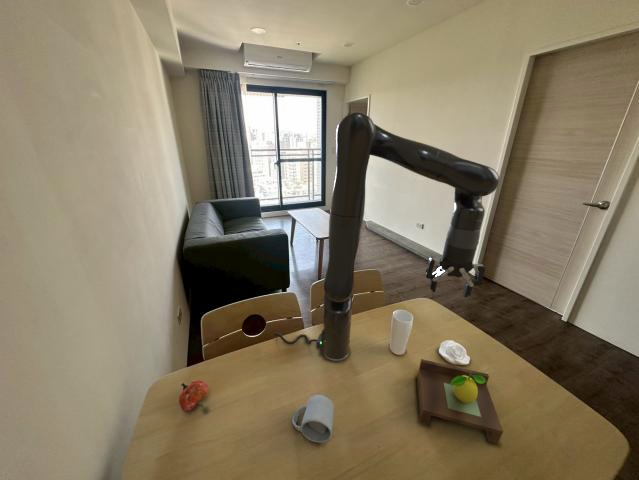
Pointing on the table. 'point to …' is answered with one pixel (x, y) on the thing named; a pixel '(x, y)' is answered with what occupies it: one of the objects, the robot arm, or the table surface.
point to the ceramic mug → (316, 418)
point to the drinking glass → (400, 331)
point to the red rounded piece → (192, 395)
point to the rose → (454, 353)
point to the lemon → (466, 387)
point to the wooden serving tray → (455, 399)
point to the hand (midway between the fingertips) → (448, 293)
